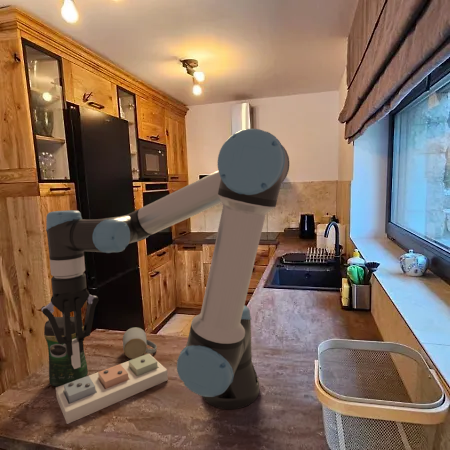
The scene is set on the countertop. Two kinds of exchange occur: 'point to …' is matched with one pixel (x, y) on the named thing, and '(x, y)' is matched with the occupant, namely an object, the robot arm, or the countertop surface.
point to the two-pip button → (112, 376)
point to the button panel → (109, 392)
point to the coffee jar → (62, 356)
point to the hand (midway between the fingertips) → (76, 365)
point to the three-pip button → (79, 389)
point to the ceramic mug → (136, 343)
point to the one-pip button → (142, 364)
